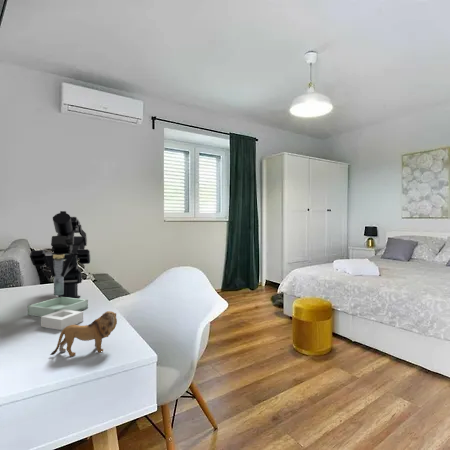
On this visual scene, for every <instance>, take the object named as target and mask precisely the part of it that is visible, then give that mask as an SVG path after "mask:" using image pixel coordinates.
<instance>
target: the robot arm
mask: <svg viewBox="0 0 450 450" xmlns="http://www.w3.org/2000/svg"><path fill="white" fill-rule="evenodd" d="M52 222H53V227H54V230H55V233H56V234H57V235H53V236H52V235H51V240H50V245H51V246H50V247H51V251H52V252H49V251H48V252H46V251H45V250H44V249H43V250H41V249H40V250H31V251H30V253H29V258H30V261H31V264H32V265H33V266H37V267H38V266H44V265H45V267H49V269H50V270H49V271H50V275H51V278H53V279H54V259H53V255H54V254H65V258H64V270H63V277H64V294H63V295H58V296H57V297H69V298H77V299H80V298H81V295H78V292H79V291H78V286H79V284H81V283H82V282H83V281H82V280H83V277H82V271H81V270H80V268H79V264H80V265H85V264H90V263H91V253H90V252H91V251H90V249H87V248H86V246H87V245H88V239H87V238H88V237H87V233H86V232H85V231H84V230H83V228H82V227H83V226H82V224H81V222H80V220H79V219H78V218H77V216H71V215H70V214H68V213H67V211H66V210H64V211H61V210H60V212H58V213H56V214H55V215H54V216H52ZM75 233H76V234H79V236H78V235H77V236H75ZM78 263H79V264H78Z"/></svg>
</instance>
